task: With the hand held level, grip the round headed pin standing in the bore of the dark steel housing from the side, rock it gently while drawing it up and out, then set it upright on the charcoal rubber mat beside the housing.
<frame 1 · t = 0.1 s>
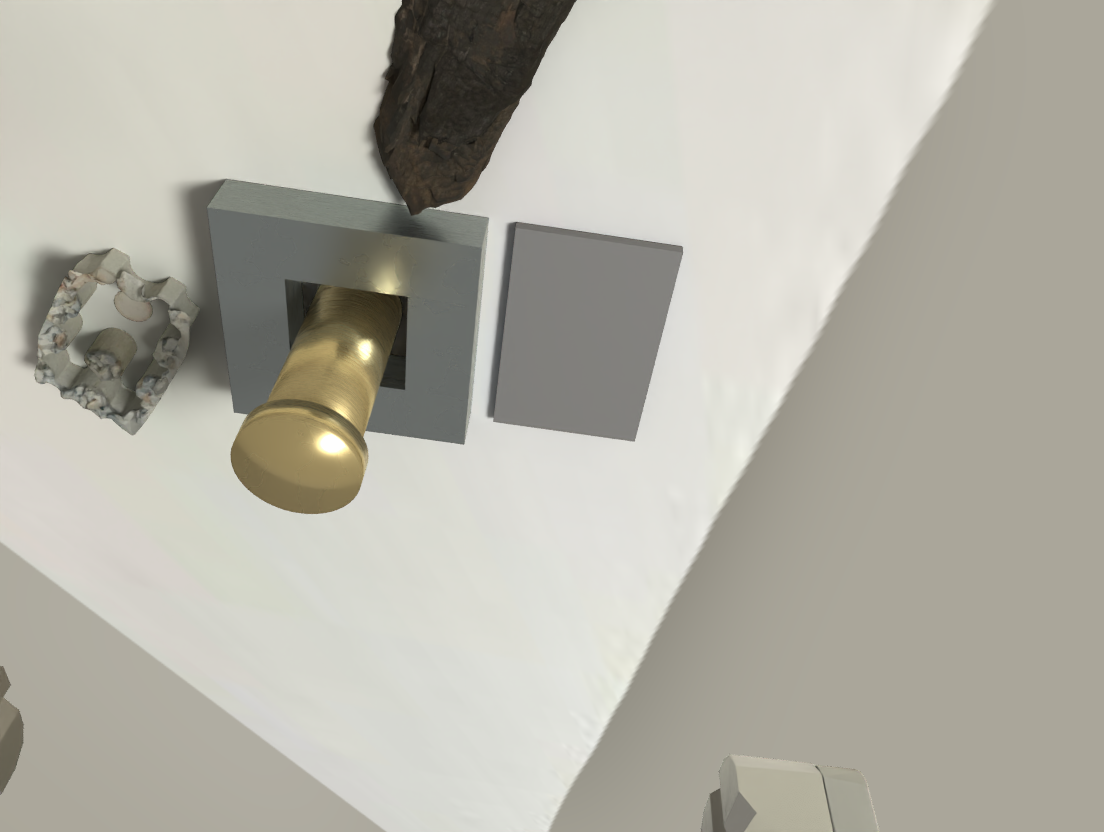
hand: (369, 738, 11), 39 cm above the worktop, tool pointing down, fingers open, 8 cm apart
mat: (580, 337, 55), on the worktop
round headed pin: (331, 379, 50), in the housing
egg carton: (131, 321, 57), on the worktop
housing: (359, 306, 55), on the worktop
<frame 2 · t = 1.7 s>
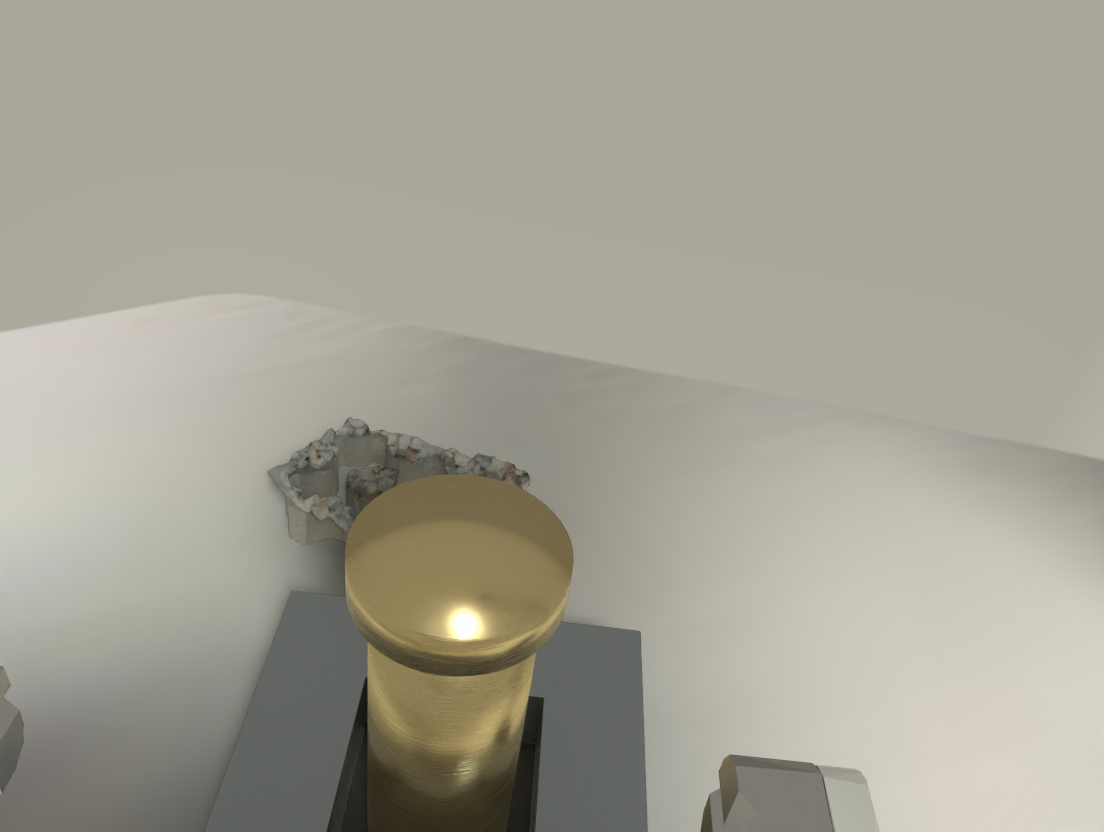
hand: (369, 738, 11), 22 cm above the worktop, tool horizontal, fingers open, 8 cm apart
round headed pin: (448, 700, 30), in the housing
egg carton: (398, 536, 45), on the worktop
housing: (438, 815, 34), on the worktop
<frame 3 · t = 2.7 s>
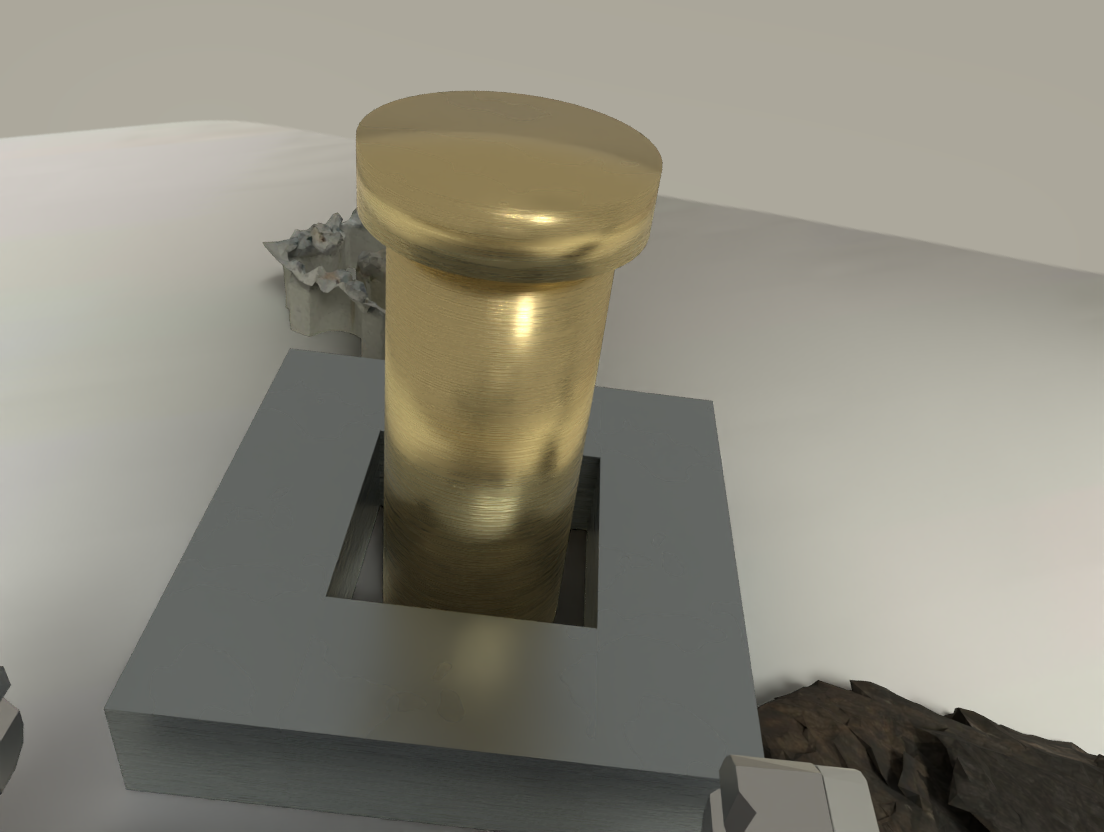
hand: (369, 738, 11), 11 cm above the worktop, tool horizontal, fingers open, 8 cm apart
round headed pin: (487, 408, 23), in the housing
egg carton: (417, 335, 39), on the worktop
housing: (470, 595, 27), on the worktop
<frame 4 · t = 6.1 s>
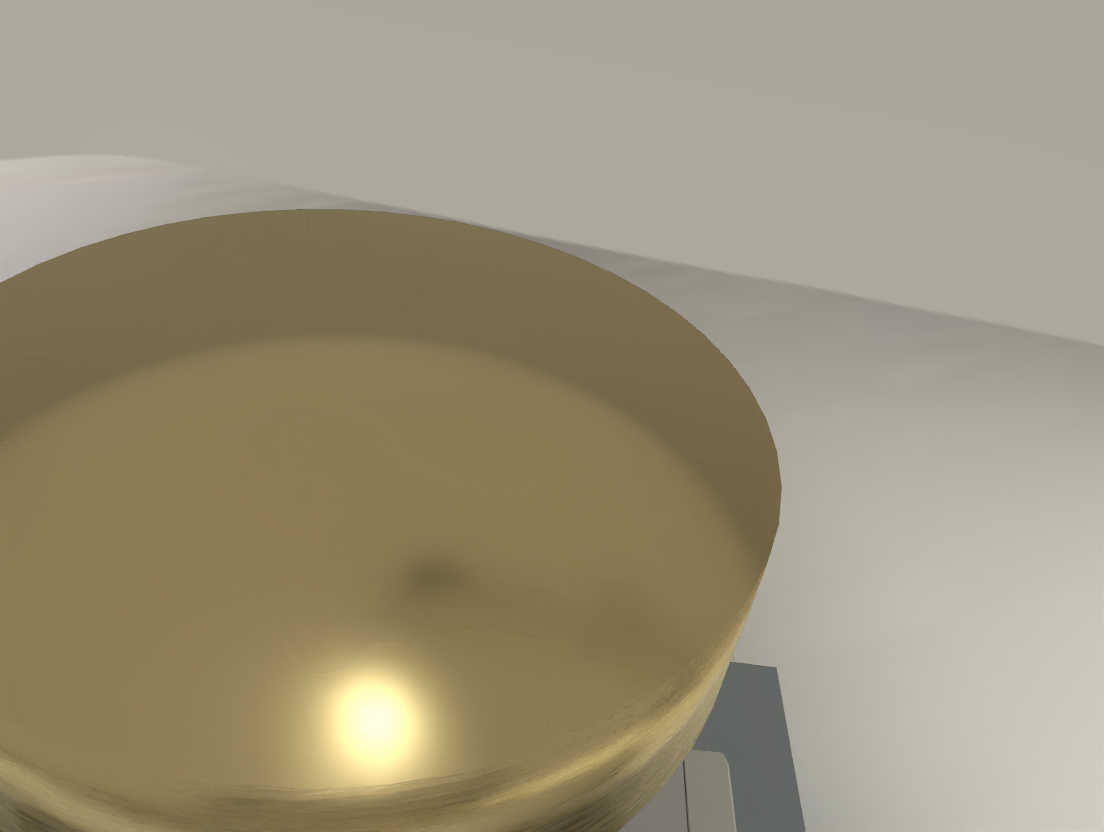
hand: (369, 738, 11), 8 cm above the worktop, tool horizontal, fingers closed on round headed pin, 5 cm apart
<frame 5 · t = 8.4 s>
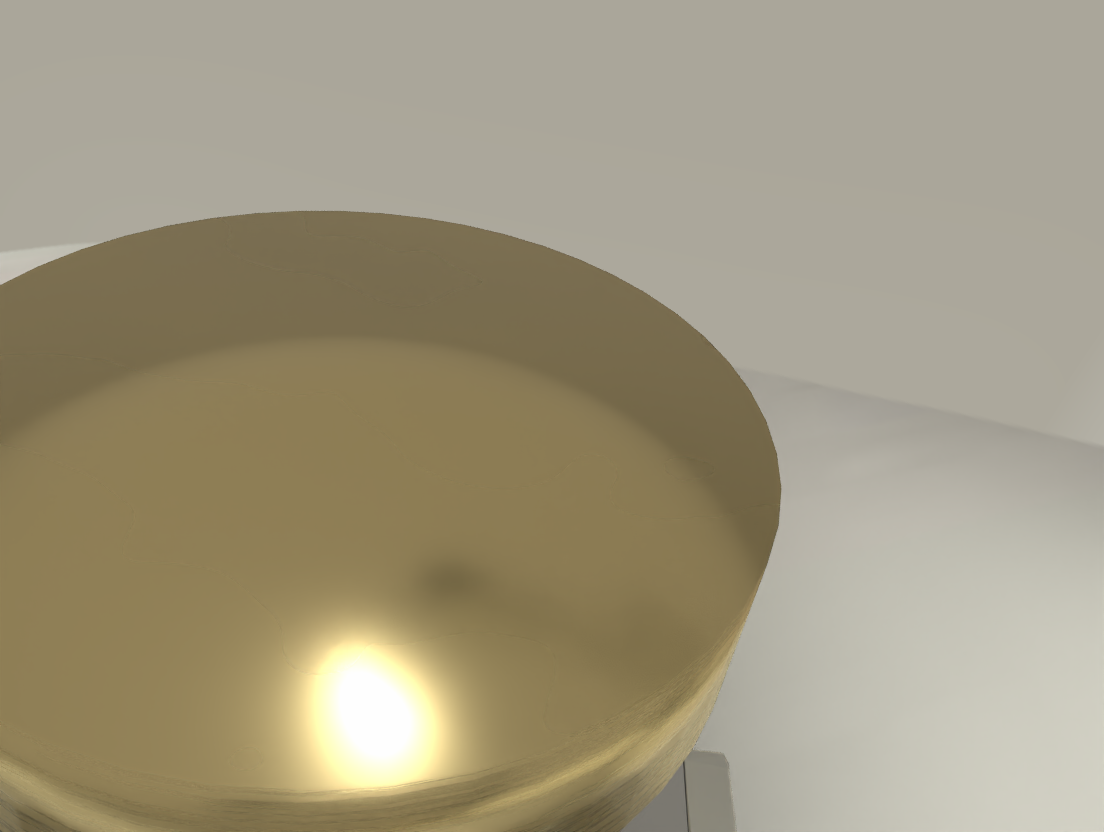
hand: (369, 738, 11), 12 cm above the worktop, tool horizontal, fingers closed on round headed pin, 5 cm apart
when the fingers open (10 cm above the worktop, at t = 12.3 s): round headed pin drops 1 cm, resting on mat.
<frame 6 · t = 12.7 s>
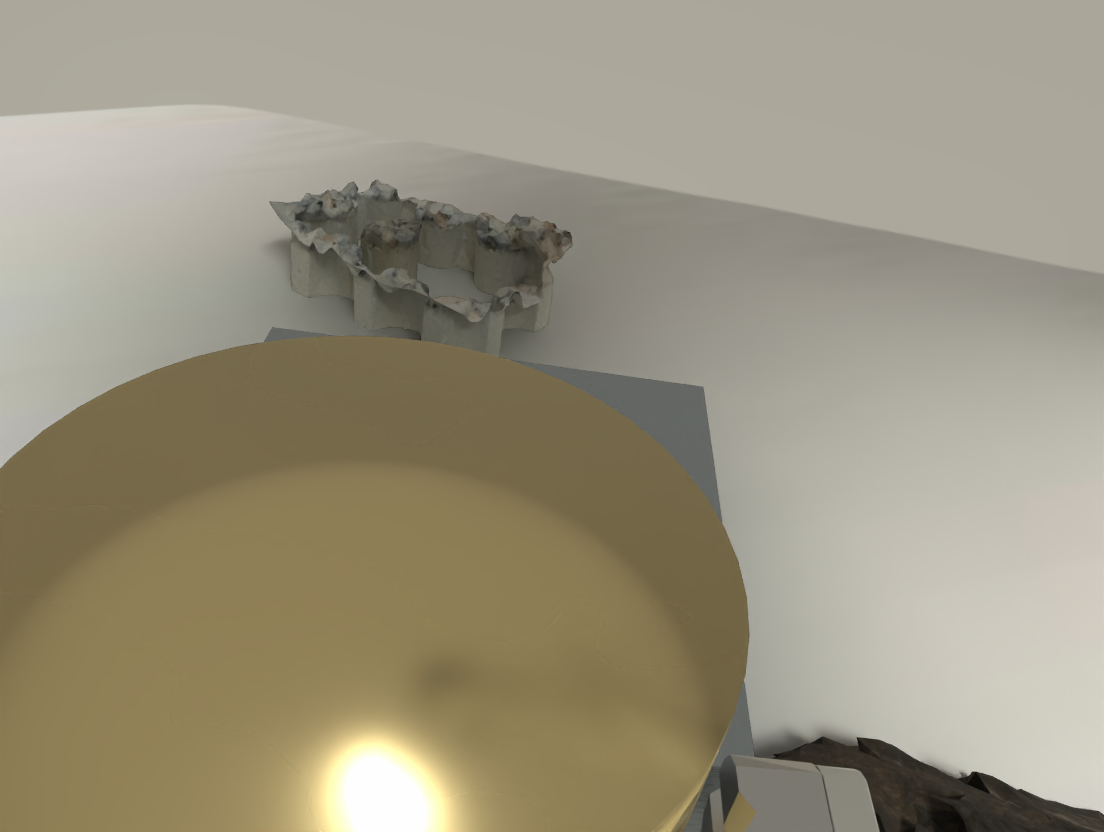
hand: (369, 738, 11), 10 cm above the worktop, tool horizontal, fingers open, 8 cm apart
egg carton: (416, 306, 39), on the worktop
housing: (453, 580, 26), on the worktop
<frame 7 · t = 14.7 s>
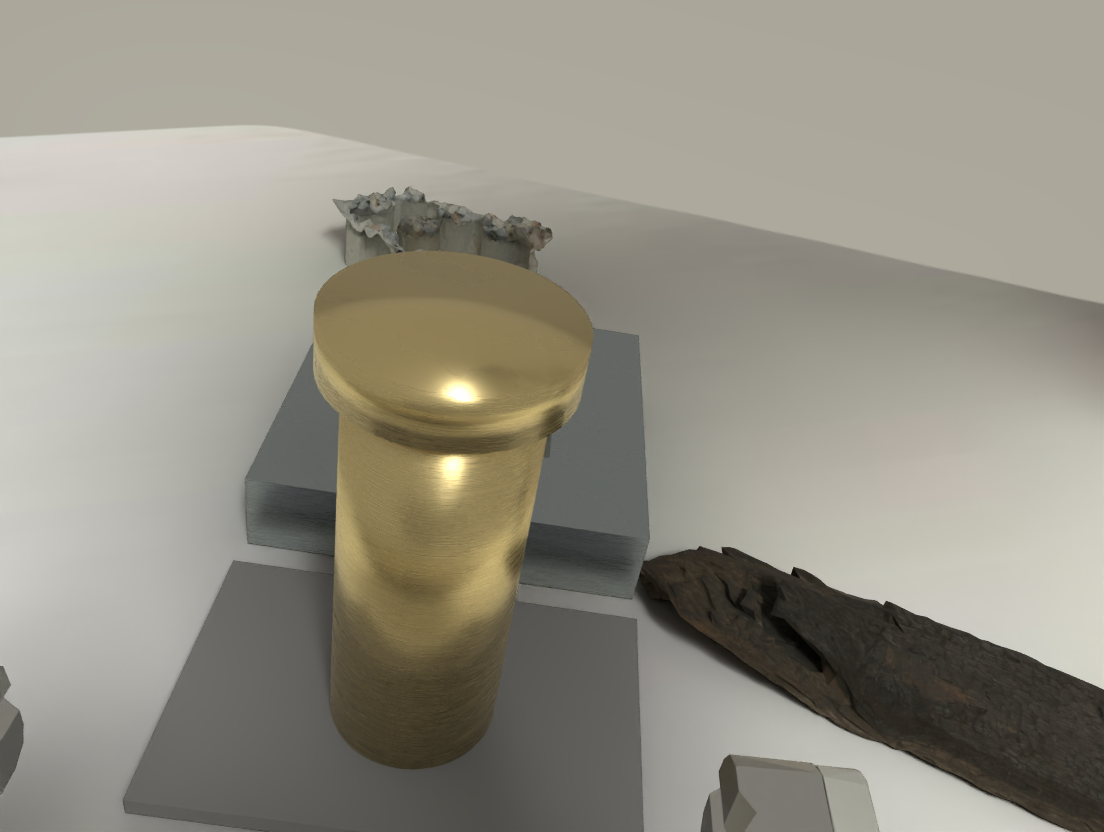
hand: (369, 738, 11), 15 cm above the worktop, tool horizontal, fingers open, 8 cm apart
mat: (414, 709, 29), on the worktop
round headed pin: (432, 535, 25), on the mat, point 7 cm above the worktop
egg carton: (436, 281, 53), on the worktop
wood: (921, 705, 33), on the worktop
housing: (465, 453, 40), on the worktop
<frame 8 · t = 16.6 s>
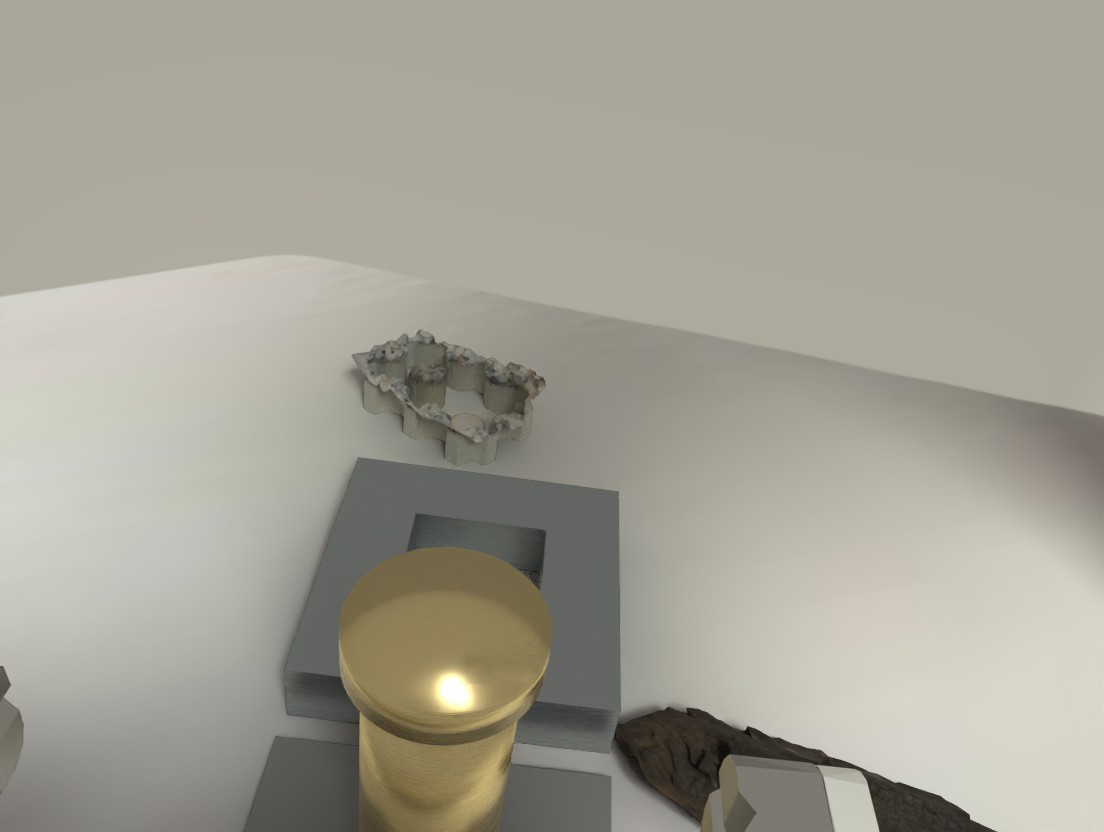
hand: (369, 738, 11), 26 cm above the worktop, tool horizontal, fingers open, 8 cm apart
round headed pin: (435, 757, 31), on the mat, point 7 cm above the worktop
egg carton: (444, 419, 59), on the worktop
housing: (468, 611, 46), on the worktop
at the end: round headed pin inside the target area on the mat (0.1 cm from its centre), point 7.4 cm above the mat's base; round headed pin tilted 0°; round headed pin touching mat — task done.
